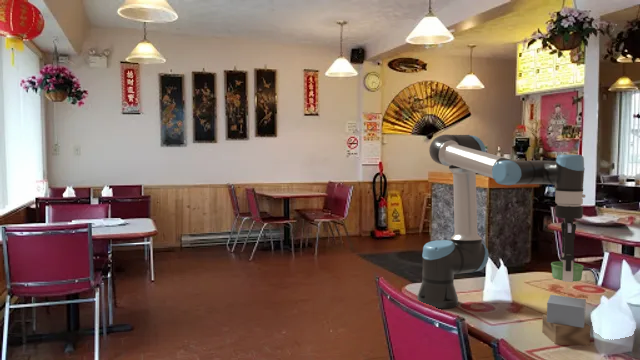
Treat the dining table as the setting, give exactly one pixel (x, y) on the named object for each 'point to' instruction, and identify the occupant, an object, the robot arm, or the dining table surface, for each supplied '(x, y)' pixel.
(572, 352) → the dining table surface
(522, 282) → the dining table surface
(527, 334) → the dining table surface
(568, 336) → the walnut base block
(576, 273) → the ramekin
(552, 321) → the slate-grey block
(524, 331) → the dining table surface
